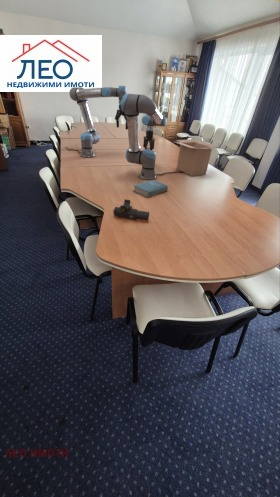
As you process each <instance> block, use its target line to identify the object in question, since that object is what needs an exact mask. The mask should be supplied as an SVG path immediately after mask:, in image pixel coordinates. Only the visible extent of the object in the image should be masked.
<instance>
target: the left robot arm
mask: <svg viewBox="0 0 280 497" xmlns="http://www.w3.org/2000/svg"><path fill="white" fill-rule="evenodd" d="M68 94H69V97H70V99H71V100H72V101H74V102H76V104H77V105H78V106H79V109H80V113H81V117H82V119H83V123H84V126H85V130H86V131H85V132H82V133H81V134H80V143H81V151H79V150H77V149H73V148H68V147H67V146H65V149H66V150H70V151H75V152H77V153H79V154H80V157H82V158H88V159H89V158H94V157H95V152H94V149H93V145H96V144H98V143H99V142H100V139H101V137H100V134H99V133H98V132H97V130H96V128H94V122H93V120H92V117H91V113H90V109H89V106H88V103H89V101H88V100H89V99H97V98H118V109H116V113H115V116H114V120H115V124H116V128H120V118H121V116H122V117H123V118H124V120H125V130H128V126H127V117H126V116H125V113H124V112H123V111H122V110H121V100H122V97H123V96H124V94H127V86H125V85H118V87H111V86H110V87H108V86H105V87H94V88H93V87H92V88H91V87H90V88H84V87H79V86H78V87H71V88H70V89H69V93H68Z"/></svg>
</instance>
